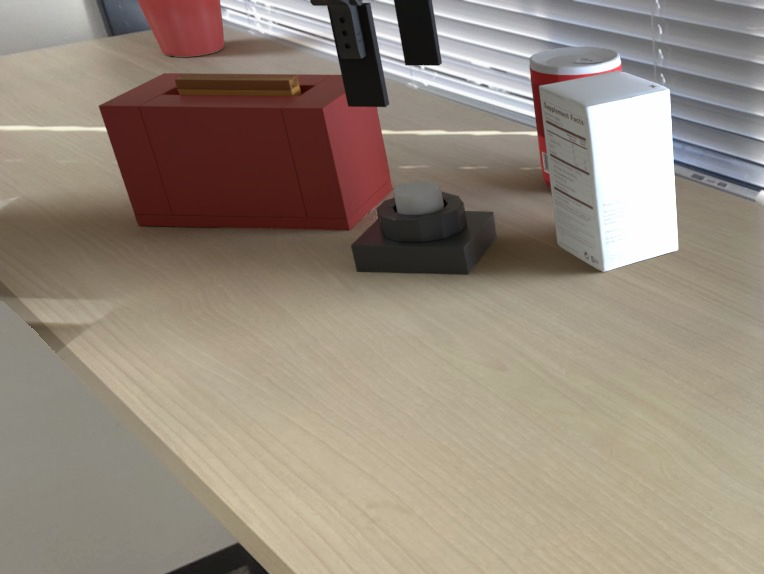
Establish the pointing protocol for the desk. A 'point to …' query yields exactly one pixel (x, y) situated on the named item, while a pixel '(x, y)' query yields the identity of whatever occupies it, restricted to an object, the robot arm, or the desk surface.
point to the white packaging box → (611, 168)
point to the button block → (425, 240)
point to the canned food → (565, 79)
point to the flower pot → (185, 26)
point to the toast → (238, 85)
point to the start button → (418, 198)
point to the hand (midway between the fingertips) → (397, 84)
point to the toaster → (248, 156)
